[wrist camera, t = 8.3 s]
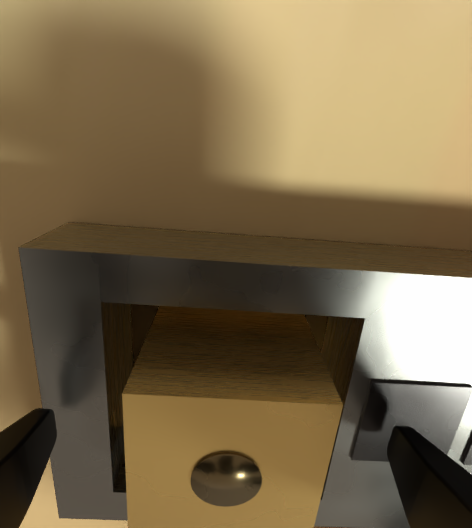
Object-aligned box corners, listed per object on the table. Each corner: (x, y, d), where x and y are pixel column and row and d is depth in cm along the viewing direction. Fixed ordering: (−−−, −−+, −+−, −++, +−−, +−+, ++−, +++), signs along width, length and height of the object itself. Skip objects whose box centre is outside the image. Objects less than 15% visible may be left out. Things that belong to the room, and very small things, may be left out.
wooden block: (300, 304, 11) (344, 407, 7) (282, 411, 13) (309, 550, 8) (163, 295, 11) (121, 396, 7) (162, 405, 12) (128, 543, 8)
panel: (582, 258, 11) (688, 293, 8) (487, 466, 14) (543, 536, 11) (68, 222, 10) (15, 248, 7) (89, 449, 13) (57, 521, 10)
